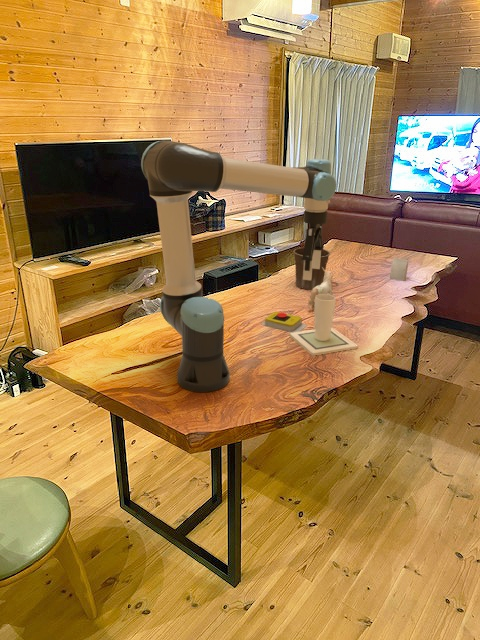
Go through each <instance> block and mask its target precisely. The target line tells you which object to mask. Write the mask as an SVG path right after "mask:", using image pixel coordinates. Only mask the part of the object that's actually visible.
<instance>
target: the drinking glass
mask: <svg viewBox="0 0 480 640" xmlns="http://www.w3.org/2000/svg"><path fill="white" fill-rule="evenodd" d="M314 302H315V305H314V307H313V310H314V311H313V313H314V317H313V318H314V321H313V322H314V323H313V324H314V329H315V332H314V337H315V339H316V340H319V341H327V340H329V339H330V333H331V327H332V328H333V322H334V315H335V310H336V297H335V295H333V296H332V295H330V294H329V293H327V294H319V295H316V297H315V300H314Z"/></svg>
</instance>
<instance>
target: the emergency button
mask: <svg viewBox="0 0 480 640" xmlns="http://www.w3.org/2000/svg"><path fill="white" fill-rule="evenodd" d="M302 318H303V317H302V316H297V315H294V314H288V313H285V312H280V311H274V312H273V313H271V314H269V315H268V316H266V317H265V319H264V321H262V323H261V324H260V325H261V326H264V327H267V328H268V327H269V328H271V329H275V330H280V331H284V332H289V333H293V332H300V331H303V330H304V329H305V328H306V327H307V326H308V325H307V324H305V323H302V320H303V319H302Z"/></svg>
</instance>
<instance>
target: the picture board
mask: <svg viewBox="0 0 480 640" xmlns="http://www.w3.org/2000/svg"><path fill="white" fill-rule="evenodd" d="M314 332H315V328H314V329H306V330H301V331H300V332H293V333H292V332H289V333H288V336H289V337H290V339H292V340H293V341H295V342H296V343H297V344H298V345H299V346H300V347H301V348H302V349H304V350H305V351H306V352H307V353H308V354H309V355H311V357H316V356H315V355H317V356H322V355H321V354H323V355H327V354H326V353H329V354H332V353H331V352H335V353H339V352H338V351H341V352H344V351H343V350H346V351H351V350H350V349H352V350H357V349H356V348H359V345H357V344H356V343H355V342H354V341H352V340H350V339H349V338H348V337H347V336H345V335H343V334H342V333H341V332H339V331H338V330H336V329H335V328H334V327H333V326H332V327H331V333H330V339H329V340H327V341H319V340H316V339H315V337H314Z"/></svg>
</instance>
